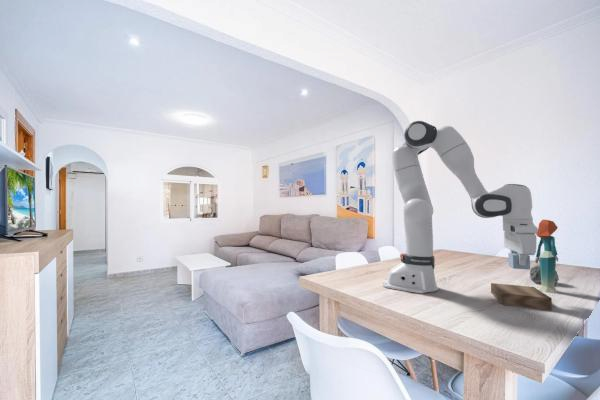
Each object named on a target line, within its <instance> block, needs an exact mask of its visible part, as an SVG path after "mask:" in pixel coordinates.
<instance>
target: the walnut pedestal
mask: <svg viewBox="0 0 600 400" xmlns="http://www.w3.org/2000/svg"><path fill="white" fill-rule="evenodd" d="M490 293H491V294H492V296H494V297H495V299H497V301H498V302H499V303H500V304H501V305H505V306H514V307H522V308H531V309H538V310H540V309H541V310H548V311H553V310H552V309H553V300H552V299H553V298H552V297H550V296H548V294H545V292H543V291H540V290H538V288H537V287H535V286H527V285H515V284H506V283H504V284H503V283H494V282H491V283H490Z"/></svg>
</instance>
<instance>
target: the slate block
mask: <svg viewBox="0 0 600 400" xmlns="http://www.w3.org/2000/svg"><path fill="white" fill-rule="evenodd" d="M518 260H519V253H511V252H508V266H509V267H510V268H512V269H517V270H518V269H519V270H529V271H530V270H531V255H527V259H526V265H525V266H524V265H519V264H518Z"/></svg>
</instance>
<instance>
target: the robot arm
mask: <svg viewBox="0 0 600 400" xmlns="http://www.w3.org/2000/svg"><path fill="white" fill-rule="evenodd" d="M404 140H405V141H404V143H403V144H401V145H398V146H397V147H395V148H394V149H393V150H392V153H391V157H392V158H391V160H392V166H393V172H394V176H395V179H396V183H397V187H398V190H399V192H400V194H401V197H402V200H403V203H404V207H403V223H404V224H403V225H404V233H405V234H404V236H405V253H404V252H401V253H400V254H399V256H400V262H399V263H397V264H396V265H394V266H393V267H392V268H390V270H389V271H388V274H387V278H385V279H383V281H382V286H383V287H384V288H388V289H391V290H392V289H393V290H398V291H404V292H409V293H410V292H411V293H416V294H425V293H431V292H433V293H434V292H436V291H437V290H438V289H439V288H438V285H437V281H436V277H435V266H436V259H435V255H434V234H433V214H434V206H433V204H432V200H431V197H430V195H429V191H428V188H427V184H426V182H425V177H424V175H423V171H422V167H421V164H420V159H419V157H418V156H419V155H420V154H422V153H424V152H426V151H427V150H428V149H433V150H434V151H435V152H436V153H437V155H438V156H439V159H440V160H441V162H442V163H443V164H444V165H445V166H446V168H448V169H449V171H450V172H451V173H452V174H453V175H454V176H455V177H456V178H457V179H458V180H459V181H460V183H461V184H462V186H463V187H464V189H465V190H466V192H467V194H468V195H469V197H470V200H471V201H470V202H471V209H472V212H473V213H474V214H475V215H476V216H478V217H480V218H482V219H483V218H484V219H491V218H493V219H494V218H496V217H502V231H503V233H504V234H503V237H504V238H503V245H504V248H505V249H509V251H510V252H509V253H519V260H518V264H519V265H524V266H525V265H526V259H527V255H529V256H534V255H536V254H537V235H536V234H537V233H538V227H537V226H536V225H535V224H534V222H533V221H534V220H533V215H532V210H533V198H532V193H531V189H530V188H529V187H528V186H526V185H525V184H524V185H523V184H520V183H519V184H517V183H507V184H504V185H503V186H501V187H499V188H497V189H495V190H492V191H490V192H488V190H487V189H486V188H485V187H484V185H483V183H482V182H481V180H480V178H479V177H478V175H477V173H476V169H475V158H474V154H473V152H472V149H471V148H470V146H469V144H468V143H467V141H466V140H465V138H464V137H463V136H462V135H461V133H460V132H459V131H458V130H457V129H456V128H455V127H453V126H450V125H446V126H441V127H439V128H438V129H437V126H435V125H432V124H430V123H428V122H426V121H422V120H416V121H415V120H414V121H413V122H410V124H409V125H408V126H406V129H405V131H404Z"/></svg>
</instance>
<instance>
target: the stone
mask: <svg viewBox="0 0 600 400" xmlns="http://www.w3.org/2000/svg"><path fill="white" fill-rule="evenodd" d="M529 275H530V276H529V278H530V280H531V281H532V282H533V283H534V284H537V285H538V284H539V285H542V282H541V271H540V262H538V264H537V263H536V264H535V265H534V266H533V267H530V270H529ZM559 280H560V278H559V275H558V272H557V270H556V269H555V285H556V284H558V281H559Z"/></svg>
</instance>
